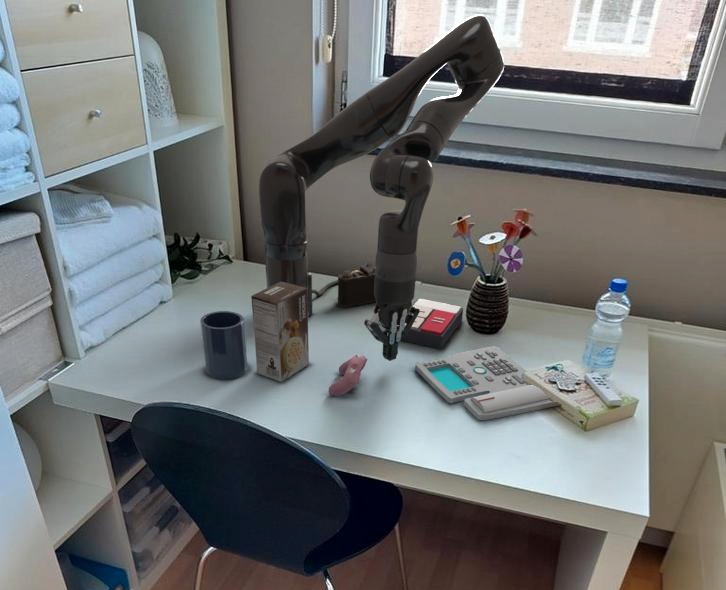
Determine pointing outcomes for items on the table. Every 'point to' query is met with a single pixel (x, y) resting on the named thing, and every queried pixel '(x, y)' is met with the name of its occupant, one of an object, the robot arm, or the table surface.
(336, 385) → the video game controller
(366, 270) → the camera
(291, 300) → the coffee box
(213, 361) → the pen cup
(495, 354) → the office telephone
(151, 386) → the table surface
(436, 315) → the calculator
